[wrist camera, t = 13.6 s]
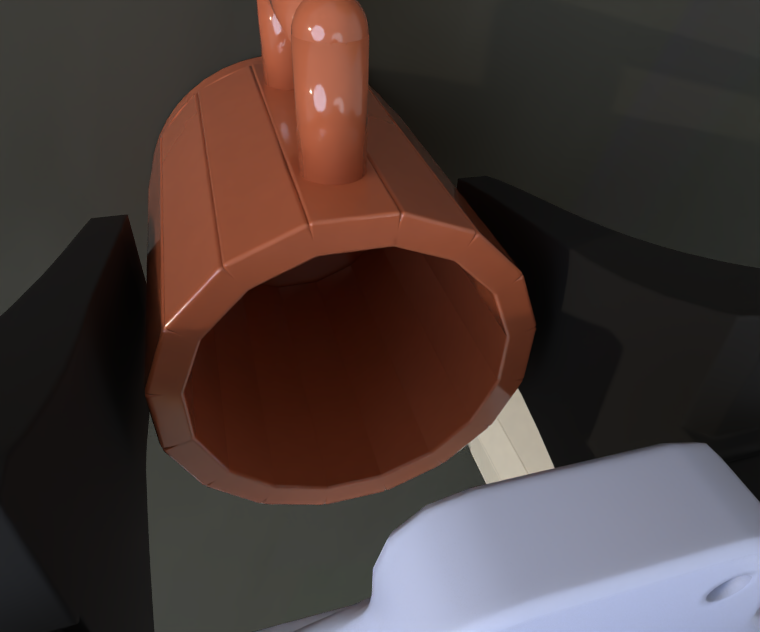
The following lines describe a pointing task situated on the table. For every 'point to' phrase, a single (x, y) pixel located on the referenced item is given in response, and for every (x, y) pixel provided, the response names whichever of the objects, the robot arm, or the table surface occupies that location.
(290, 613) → the table surface
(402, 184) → the terracotta cup
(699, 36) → the table surface
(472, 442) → the cream cup
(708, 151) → the table surface
